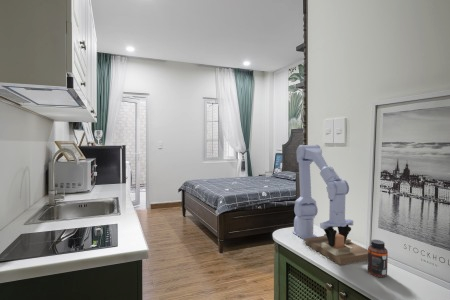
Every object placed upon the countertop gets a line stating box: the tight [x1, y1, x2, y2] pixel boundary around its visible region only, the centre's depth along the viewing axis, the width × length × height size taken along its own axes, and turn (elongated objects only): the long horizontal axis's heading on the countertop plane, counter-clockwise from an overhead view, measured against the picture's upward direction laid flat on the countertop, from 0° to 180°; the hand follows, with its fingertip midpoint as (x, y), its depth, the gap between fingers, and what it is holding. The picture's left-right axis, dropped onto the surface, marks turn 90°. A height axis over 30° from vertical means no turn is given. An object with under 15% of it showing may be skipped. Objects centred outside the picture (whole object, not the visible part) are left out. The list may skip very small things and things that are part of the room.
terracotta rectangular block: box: [333, 232, 344, 249], centre depth 105 cm, size 4×4×6 cm
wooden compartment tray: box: [305, 233, 368, 266], centre depth 110 cm, size 21×16×4 cm
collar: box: [322, 242, 353, 256], centre depth 104 cm, size 8×8×2 cm
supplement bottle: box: [367, 239, 389, 278], centre depth 91 cm, size 6×6×11 cm
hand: (336, 244), depth 104 cm, fingers open, 5 cm apart
